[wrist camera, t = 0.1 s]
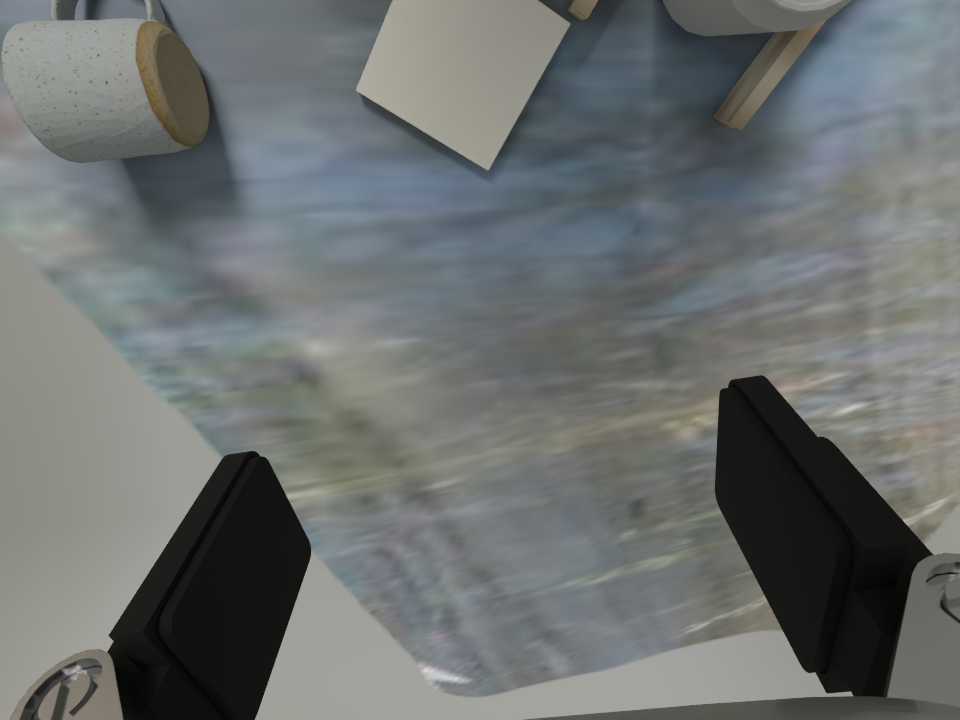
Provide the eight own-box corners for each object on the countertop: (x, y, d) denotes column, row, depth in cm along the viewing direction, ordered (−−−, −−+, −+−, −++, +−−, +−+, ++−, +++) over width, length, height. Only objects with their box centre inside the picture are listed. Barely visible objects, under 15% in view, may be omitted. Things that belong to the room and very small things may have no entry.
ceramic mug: (230, 142, 37) (174, 159, 30) (118, 153, 37) (38, 173, 31) (173, -47, 32) (90, -76, 25) (43, -31, 32) (-73, -56, 25)
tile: (427, -77, 31) (425, -81, 30) (568, 24, 33) (570, 23, 32) (358, 89, 35) (355, 90, 34) (488, 168, 38) (488, 170, 37)
